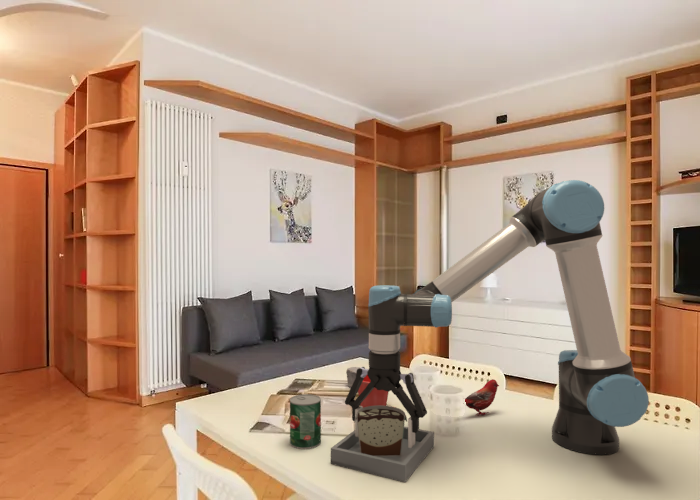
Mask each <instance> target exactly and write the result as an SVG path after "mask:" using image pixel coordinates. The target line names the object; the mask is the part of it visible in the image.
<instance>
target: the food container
mask: <svg viewBox="0 0 700 500" xmlns="http://www.w3.org/2000/svg"><path fill="white" fill-rule="evenodd" d="M356 419H357V426H358V436H359V445H360V453H363V454H368V455H372V456H376V457H401V452H402V442H403V432H404V426H405V422H406V423H408V418H407V415H406V412H405V411H404V410H403V409H402V408H401V409H400V408H398V407H395V406H391V405H386V406H383V405H376V406H368V407H364V408H361V409H359V410H358V411H357V414H356V416H355V421H356ZM355 421H353V423H354V424H355Z"/></svg>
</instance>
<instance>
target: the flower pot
mask: <svg viewBox="0 0 700 500" xmlns="http://www.w3.org/2000/svg"><path fill="white" fill-rule="evenodd" d="M370 382H371V380H370V379H369V377H368V375H367V376H366V377H364V380H363V382H362V384H361V386H360V388H359V390H358V392H357V394H358V396H359V395H360V394H361V393H362V392H363V390H364V389H365V388H366V387H367V385H368V384H369V383H370ZM388 399H389V392H388V391H384V390H377V389H376V388H374V389H373V390H372V391H371V392H370V394H369V395H368V396H367V397H366V398H365V399H364V400H363V402H362V403H361V404H360V405H359V406H362V407H363V408H364V407H368V406H376V405H383V406H387V404H388Z"/></svg>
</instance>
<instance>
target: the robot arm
mask: <svg viewBox="0 0 700 500" xmlns="http://www.w3.org/2000/svg"><path fill="white" fill-rule="evenodd" d="M604 214H605V202H604V198H603V196H602V194H601V192H599V190H598V189H597V188H596V187H595V186H593V185H592V184H590V183H588V182H586V181H583V180H578V179H570V180H566V181H565V180H563V181H560V182H558V183H557V182H556V183H555V184H553V185H551V186H550V187H548V188H546V189H544V190H541V191H540V192H538V193H537V194H536V195H535V196H534V197H533V198H532V199H530V201H528V202H527V203H526V204H525V205H524V206H523V207H522V208H521V209H520V210H518V211H517V212H516V213H515V214H514V215H512V216H511V217H510V218H509V223H507V225H505V226H504V227H503V228H501V229H500V230H498V231H497V232H496V233H495V234H493V235H492V236H491V237H489V238H488V239H487V240H485V241H484V242H482V243H481V244H480V245H479V246H477V247H476V248H474V249H473V250H471V251H470V252H469V253H468V254H466V255H465V256H463V257H462V258H461V259H460V260H458V261H457V262H456V263H454V264H453V265H452V266H450V267H449V268H447V270H446V269H445V271H443V272H442V273H441V274H439V275H438V276H437V277H436V278H434V279H433V280H431V282H429V283H428V284H426V285H425V286H424V287H422V288H419V289H418V290H416V291H415V292H414V293H412V294H407V293H406V294H405V293H402V291H401V287H400V286H398V285H388V284H387V285H384V284H382V285H380V284H379V285H373V286H371V287H370V288H369V290H368V291H369V292H368V308H367V309H368V349H369V350H370V351H368V368H366V367H365V366H361V367H360V368H359V369H357V372H356V379H355V381H354V383H353V385H352V387H351V388H350V389H349V391H348V394H347V395H346V397H345V400H344V403H345V405H347V406H350V407H351V416H352V417H351V420H352V422H354V421H355V416H356V414H357V411H358V410H359V409H361V408H363V407H362V406H361V405H360V404H361V403H362V402H363V400H364V399H365V398H366V397H367V396H368V395H369V394H370V392H371V391H372V390H373V389H374V388H376V389H377V390H384V391H388V393H389V392H392V393H393V395H395V397H396V398H397V399H398V400H399V402H400V404H401V405H402V406H403V407H404V409H405V411H407V414H408V415H409V418H407V427H408V448H412V447H413V446H414V445H415V433H417V432H418V430H419V429H420V418H424V417H425V416H427V414H428V409H427V408H426V406H425V404H424V401H423V399H422V397H421V395H420V393H419V391H418V388H417V385H416V383H415V377H414V373H413V372H409V373H402V372H401V352H400V349H401V327H429V328H430V327H434V328H439V327H441V328H442V327H449V326H451V324H452V321H453V319H452V318H453V306H452V304H453V302H454V301H455V300H457V299H458V298H459V297H462V296H463V295H464V294H465V293H467V292H468V291H469V290H471V289H472V288H473V287H475V286H476V285H478V284H479V283H481V282H482V281H484V279H486V278H487V277H489V276H490V275H492V273H493V274H494V272H496V271H497V270H498V269H499V268H501V267H502V266H503V265H505V264H507V263H508V262H509V261H510V260H512V259H513V258H515V257H516V256H517V255H519V254H520V253H522V252H523V251H524V250H526V249H528V248H529V247H531V248H535V247H537V246H539V245H540V244H541V243H542V242H545V245H546V247H547V248H548V249H549V250H551V251H553V252H554V253H555V259H556V262H557V266H558V272H559V276H560V281H561V285H562V290H563V294H564V295H563V296H564V298H565V302H566V307H567V312H568V316H569V322H570V325H571V329H572V334H573V338H574V342H575V348H576V349H568V350H567V349H565V350H562V351H560V352H559V354H558V361H557V365H558V410H557V412H556V415H555V418H554V421H553V423H552V426H551V439H552V440H553V441H554V442H555V443H556V444H558V445H559V446H561V447H563V448H565V449H568V450H570V451H575V452H578V453H582V454H589V455H600V456H603V455H612V454H615V453H617V452H618V451H619V450H620V437H619V435H618V432H617V428H624V427H628V426H631V425H633V424H636V423H637V422H638V421H640V420H641V418H642V417H643V416H644V415H645V414H646V412H647V411H648V407H649V404H650V403H649V402H650V401H649V399H650V398H649V394H648V393H649V392H648V391H647V389H646V386H644V385H643V383H642V382H641V381H640V380H639V379H638V378H637V377H635V372H634V371H635V370H634V367H633V363H632V362H633V361H632V359H631V356H629V355H628V354H627V353H625V352H623V351H622V350H621V347H620V342H619V341H620V340H619V338H618V337H619V336H618V333H617V329H616V324H615V319H614V316H613V315H614V314H613V312H612V306H611V302H610V298H609V294H608V290H607V285H606V284H607V283H606V281H605V276H604V271H603V268H602V263H601V258H600V255H599V250H598V243H599V242H600V240H601V238H602V237H603V233H602V228H601V223H600V222H601V220H602V218H603V216H604ZM368 369H369V370H368ZM367 375H368V377H369V379H370V380H371V382H370V383H369V384H368V385H367V387H366V388H365V389H364V390H363V392H362V393H361V394H360V395H359V394H358V390H359V388H360V386H361V384H362V382H363V380H364V377H366V376H367ZM400 381H402V382H403V384H405V387H406V389H407V393H409V396H410V397H409V396H408V394H407V393H406V391H405V390H404V387H403V385H402V384H401V383H400ZM357 394H358V396H357ZM356 396H357V398H356ZM355 398H356V399H355ZM354 424H355V425H354V428H355V429H354V430H355V436H356V437H358V426H357V419H356V421H355V423H354Z"/></svg>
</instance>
